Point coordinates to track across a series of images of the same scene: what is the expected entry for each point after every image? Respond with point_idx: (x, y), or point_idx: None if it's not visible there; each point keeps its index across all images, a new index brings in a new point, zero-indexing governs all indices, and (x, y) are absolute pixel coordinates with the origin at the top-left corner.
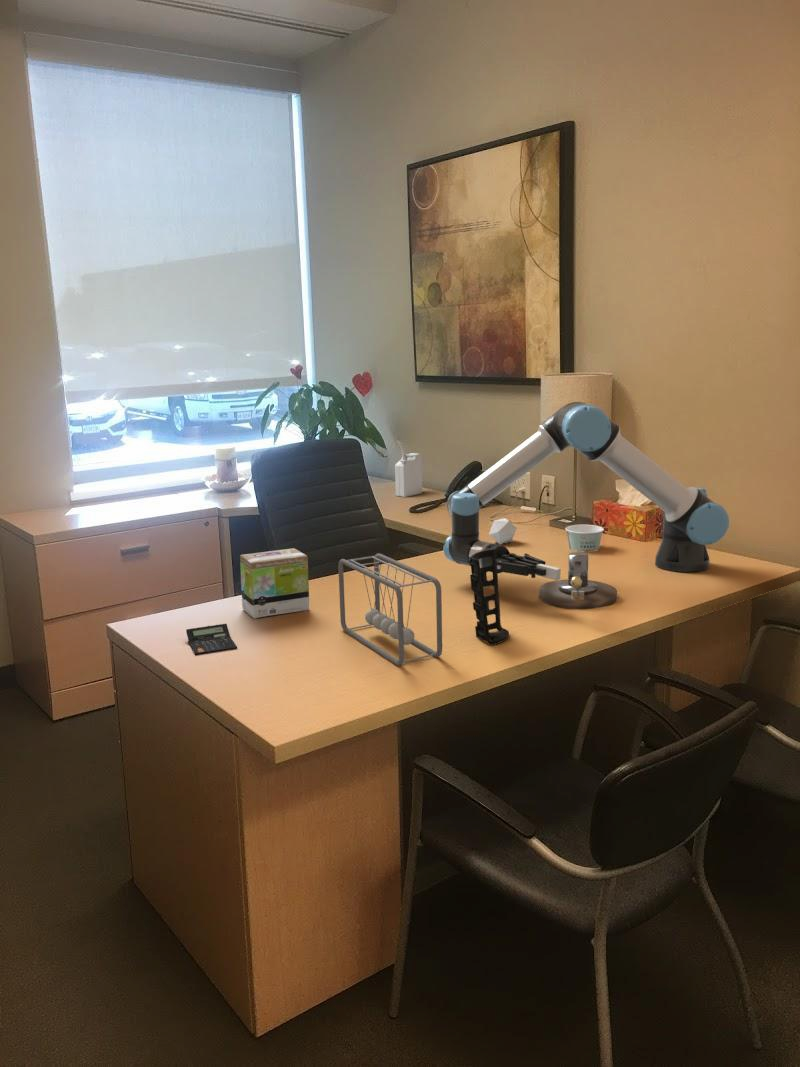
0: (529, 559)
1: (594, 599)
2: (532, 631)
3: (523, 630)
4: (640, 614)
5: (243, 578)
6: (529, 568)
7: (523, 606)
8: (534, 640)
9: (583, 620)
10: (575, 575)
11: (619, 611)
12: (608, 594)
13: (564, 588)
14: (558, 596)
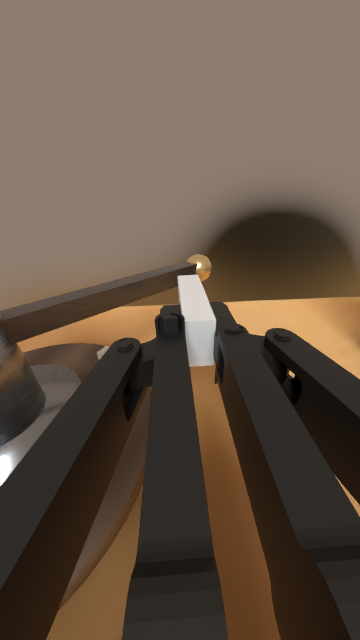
0: (38, 553)
1: (96, 351)
2: None
3: (323, 351)
4: (99, 317)
5: None
6: (262, 337)
7: (245, 496)
8: (316, 321)
9: None
10: (176, 267)
11: (101, 334)
12: (40, 356)
13: None
14: None
